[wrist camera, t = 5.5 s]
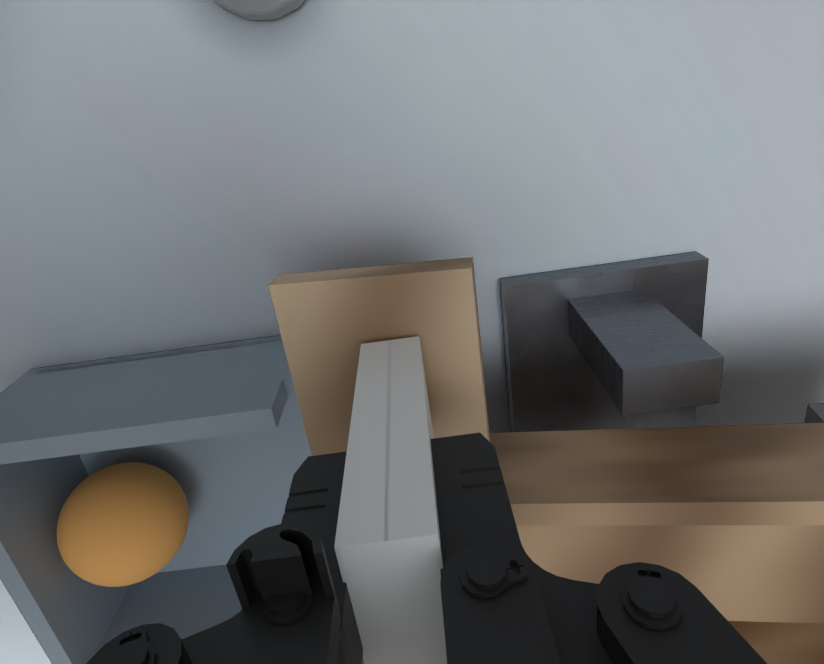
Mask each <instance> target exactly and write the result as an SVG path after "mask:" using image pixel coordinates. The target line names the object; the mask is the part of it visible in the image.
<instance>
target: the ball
mask: <svg viewBox="0 0 824 664" xmlns="http://www.w3.org/2000/svg"><path fill="white" fill-rule="evenodd" d="M188 524H189V507H188V502H187V498H186V496H185V494H184V491H183V489H182V487H181V486H180V485H179V483H178V482H177V481H176V480H175V479H174V478H173V477H172V476H171V475H170V474H168V473H167V472H166V471H164V470H162V469H160V468H158V467H156V466H154V465H150V464H146V463H139V462H126V463H120V464H115V465H111V466H108V467H105V468H103V469H101V470H99V471H97V472H95V473H93V474H92V475H90V476H89V477H87V478H86V479H85V480H83V481H82V482H81V483H80V484H79V485H78V486H77V487H76V488H75V489H74V490H73V491H72V493H71V494H70V495H69V497H68V498H67V500H66V502H65V503H64V505H63V508H62V510H61V512H60V515H59V518H58V523H57V532H56V533H57V544H58V549H59V551H60V554H61V556H62V559H63V560H64V562H65V563H66V565H67V566H68V567H69V569H70V570H71V571H72V572H73V573H74V574H76V575H77V576H79V577H80V578H82V579H83V580H85V581H88V582H90V583H93V584H95V585H100V586H106V587H120V586H127V585H131V584H135V583H138V582H140V581H143V580H145V579H147V578H149V577H151V576H153V575H154V574H156V573H157V572H159V571H160V570H161V569H162V568H164V567H165V566H166V565H167V564H168V563H169V562H170V561H171V560H172V558H173V557H174V556H175V555H176V553H177V552H178V550H179V549H180V547H181V545H182V543H183V541H184V539H185V536H186V533H187V529H188Z"/></svg>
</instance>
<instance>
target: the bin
mask: <svg viewBox="0 0 824 664" xmlns="http://www.w3.org/2000/svg"><path fill="white" fill-rule="evenodd" d="M308 456H312V454H311V450H310V446H309V442H308V438H307V435H306V431H305V427H304V423H303V419H302V415H301V411H300V407H299V404H298V400H297V396H296V392H295V388H294V384H293V380H292V376H291V372H290V369H289V365H288V361H287V357H286V353H285V349H284V345H283V341H282V337H281V335H279V336H271V337H264V338H257V339H249V340H242V341H234V342H227V343H220V344H212V345H205V346H197V347H190V348H183V349H175V350H168V351H160V352H153V353H146V354H138V355H131V356H123V357H116V358H109V359H101V360H94V361H86V362H79V363H72V364H64V365H57V366H49V367H42V368H35V369H31V370H29V371H28V372H27V373H25V374H24V375H23V376H22V377H20V378H19V379H18V380H17V381H15V382H14V383H13V384H12V385H10V386H9V387H8V388H7V389H5V390H4V391H3V392H2V393H0V579H1V581H2V583H3V584H4V586H5V587H6V589H7V591H8V592H9V594H10V596H11V597H12V599H13V601H14V602H15V604H16V606H17V607H18V609H19V610H20V612H21V614H22V615H23V617H24V619H25V620H26V622H27V624H28V625H29V627H30V629H31V630H32V632H33V633H34V635H35V637H36V638H37V640H38V642H39V643H40V645H41V647H42V648H43V650H44V652H45V653H46V655H47V657H48V658H49V660H50V661H51V663H52V664H87V662H88V661H89V660H90V659H91V658H92V657H93V656H94V655H95V654H96V653H97V652H98V651H99V650H100V649H101V648H102V647H103V646H104V645H105V644H106V643H108V642H109V641H111V640H112V639H114V638H115V637H117V636H118V635H120V634H121V633H123V632H125V631H127V630H130V629H132V628H135V627H138V626H140V625H143V624H155V623H161V624H164V625H167V626H169V627H172V628H174V629H175V631H176V632H177V634H178V635H179V637H180V638H181V639H184V638H186V637H189V636H191V635H194V634H196V633H198V632H201V631H203V630H206V629H208V628H211V627H213V626H216V625H218V624H220V623H222V622H224V621H226V620H228V619H230V618H232V617H233V616H235V615H236V614H238V613H239V612H240V611H241V609H242V607H241V604H240V601H239V599H238V596H237V593H236V591H235V588H234V585H233V583H232V580H231V577H230V574H229V572H228V569H227V566H226V564H227V562H228V560H229V559H230V557H231V555H232V554H233V552H234V550H235V549H236V548H237V547H238V546H239V545H241V544H242V543H243V542H244V541H245V540H246V539H247V538H248V537H250V536H252V535H253V534H255V533H257V532H259V531H261V530H263V529H264V528H267V527H271V526H275V525H279V524H281V521H282V518H283V514H285V506H286V502H287V498H288V497H289V491H290V487H291V483H292V479H293V475H294V473H295V472H296V471H297V470H298V468H299V467H300V466H301V465H302V463H303V462H304V461H305V460H306V459H307V457H308ZM126 462H139V463H146V464H150V465H154V466H156V467H158V468H160V469H162V470H164V471H166V472H167V473H168V474H170V475H171V476H172V477H173V478H174V479H175V480H176V481H177V482H178V483H179V485H180V486H181V487H182V489H183V491H184V494H185V496H186V498H187V502H188V507H189V524H188V529H187V533H186V536H185V539H184V541H183V543H182V545H181V547H180V549H179V550H178V552H177V553H176V555H175V556H174V557H173V558H172V560H171V561H170V562H169V563H168V564H167V565H166V566H165V567H164V568H162V569H161V570H160V571H159V572H157V573H156V574H154V575H153V576H151V577H149V578H147V579H145V580H143V581H140V582H138V583H135V584H131V585H127V586H120V587H106V586H100V585H95V584H93V583H90V582H88V581H85V580H83V579H82V578H80V577H79V576H77V575H76V574H74V573H73V572H72V571H71V570H70V569H69V567H68V566H67V565H66V563H65V562H64V560H63V559H62V556H61V554H60V551H59V549H58V544H57V533H56V532H57V523H58V518H59V515H60V512H61V510H62V508H63V505H64V503H65V502H66V500H67V498H68V497H69V495H70V494H71V493H72V491H73V490H74V489H75V488H76V487H77V486H78V485H79V484H80V483H81V482H82V481H83V480H85V479H86V478H87V477H89V476H90V475H92V474H93V473H95V472H97V471H99V470H101V469H103V468H105V467H108V466H111V465H115V464H120V463H126Z"/></svg>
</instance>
